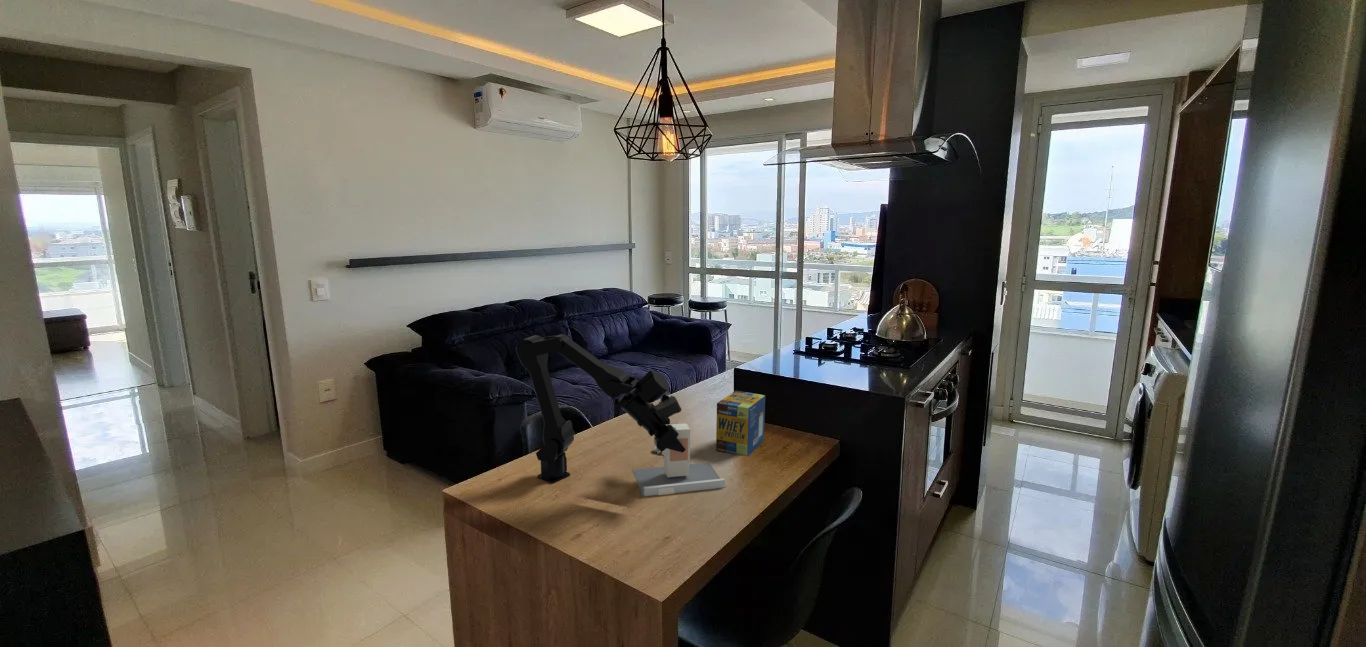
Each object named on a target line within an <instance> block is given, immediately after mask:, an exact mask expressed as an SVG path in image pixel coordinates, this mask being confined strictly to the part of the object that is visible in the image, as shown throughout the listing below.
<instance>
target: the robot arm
mask: <svg viewBox="0 0 1366 647" xmlns="http://www.w3.org/2000/svg"><path fill="white" fill-rule="evenodd" d="M515 352H516V355H517V357H518V359H519V361H520V364H521V366H523V367H524V368H525V370H526V371H528V372H529V373H528V374H529V376H530V379H531V382H532V386H533V389H534V393H535V396H536V400H537V403H538V406H539V409H540V413H541V416H542V420H543V429H542V430H543V431H542V439H543V446H542V447H541V448H540V449H539V450H537V451H536V452H535V456H536V457H537V458H536V459H537V460H538V461H540V473H539V474H537V478H539V479H541V480H544V481H546V482H549V483H552V484H553V483H556V482H558V481H560V480H562V479H564V478H567V477H569V476H570V475H571V473H570V472H568V461H567V460H568V458H567V456H566V451H568V449H569V446H571V445H572V444H573V442H574V440H575V434H576V432H575V431H574V428H573V422H572V420H565V418H564V417H563V415H562V413H561V410H560V406H559V403H558V401H557V400H558V399H557V396H556V393H555V388H554V387H553V383H552V380H551V376H550V373H549V369H548V361H549V354H550V353H554V352H555V353H559V354H560V355H561V356H563V357H564V358H565V359H567V360H568V361H569V362H571V363H572V364H573V365H575V366H576V367H577V368H579V369H580V370H582V371H583V372H584V373H586V374H587V375H589V376H590V377H591V378H592V379H593V380H594V381H595V383H596V385H597V387H598V388H599V389H600V390H601V391H602V392H603V393H604V394H605V395H606V396H608V397H610V398H614V399H613V403H612V404H613V413H615V414H617V413H618V412H619V411H620V410H621V409H622V410H623V411H624V412H625V413H626V414H627V415H628V416H630V417H631V419H632V420H634V421H635V422H636V423H637V425H638V426H639V427H640V428H641V427H642V428H643V429H645V430H646V432H647V433H648V435H649V436H650V437H653V436H654V437H653V443H654V446H655V445H656V447H657V448H658V449H659V450H660V451H661V452H664V450H665V449H666V448H667V449H671V450H675V451H679V452H684V451H685V448H684V447H683V445H682V444H681V443H680V441H679V440H678V439H677V437H678V434H679V433H678V432H677V430H676V429H675V427H673V426H672V425H669V424H671V419H670V417H672V416H673V415H675V414H678V413H681V411H682V410H683V409H682V407H681V406H680V403H679V401H678V399H677V398H676V397H675V395H668V394H667V391H669V390H670V385H669V384H670V383H669V382H668V380H667V379H666V378H665V376H662V374H660V373H658V372H656V371H655V370H654V369H650V370H649V371H647V373H646V374H645V375H644V376H643V377H640V378H639V377H636V376H632V375H629V374H628V373H627V372H626V371H624V370H622V369H620V368H618V367H616V366H613V365H610V364H608V363H604V362H602V361H601V360H600V359H598V358H597V357H596V356H594V355H593V354H591V353H590V352H589V351H588V350H586V349H585V348H583V347H582V346H580V345H579V344H578V343H576V342H575V341H573V340H572V339H571V338H570V336H569V335H566V334H565V333H564V334H563V333H562V334H558V335H550V336H544V337H543V336H540V335H537V334H535V335H532V336H529V337H526V338H524V339H522V340H519V342H518V343H517V345H516V347H515ZM623 394H624V395H623ZM621 395H623V396H621ZM619 396H621V397H620V398H618V397H619ZM658 398H660V401H658V403H657V404H654V402H655V401H656V400H658ZM660 451H659V452H660Z"/></svg>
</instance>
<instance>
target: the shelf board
mask: <svg viewBox="0 0 1366 647" xmlns="http://www.w3.org/2000/svg"><path fill="white" fill-rule="evenodd" d="M632 472H633V475H634V477H635V479H636V482H637V485H638V488H639V491H640V494H641V496H642V497H652V496H665V495H674V494H678V493H687V492H697V491H704V490H705V491H706V490H714V489H721V488H727V486H726V485H725V482H726V481H725V478H720V476H719V474H718V473H717V472H716V470H715V469H714V467H713V466H712V465H711V462H709V461H708V462H698V463H690V470H689V475H688V476H677V477H667V475H666V473H665V471H664V466H659V467H651V468H650V467H649V468H648V467H646V468H638V469H632Z"/></svg>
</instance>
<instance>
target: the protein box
mask: <svg viewBox="0 0 1366 647" xmlns="http://www.w3.org/2000/svg"><path fill="white" fill-rule="evenodd" d="M765 417H766V395H764V394H759V393H753V392H747V391H741V390H734V391H733V392H732V393H730V394H728V395H727V396H725V397H724V398H723V399H721V400H719V401H718V402H717V403H716V426H715V427H716V435H715V438H716V441H715V442H716V443H715V444H716V445H715V446H716V447H715V448H716V452H721V453H726V454H730V455H735V456H736V455H737V456H744V457H749V456H750V455H751V454H752V453H753V452H754V451H755V450H756V449H757V448H758V447H760V445H761V444H762V443H763V442H765V422H766V421H765Z"/></svg>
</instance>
